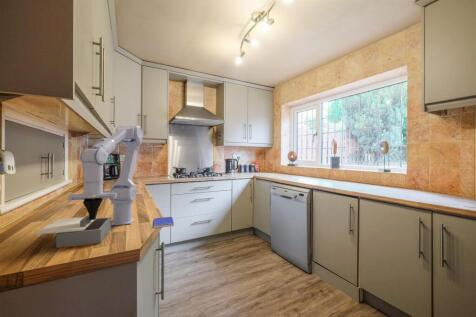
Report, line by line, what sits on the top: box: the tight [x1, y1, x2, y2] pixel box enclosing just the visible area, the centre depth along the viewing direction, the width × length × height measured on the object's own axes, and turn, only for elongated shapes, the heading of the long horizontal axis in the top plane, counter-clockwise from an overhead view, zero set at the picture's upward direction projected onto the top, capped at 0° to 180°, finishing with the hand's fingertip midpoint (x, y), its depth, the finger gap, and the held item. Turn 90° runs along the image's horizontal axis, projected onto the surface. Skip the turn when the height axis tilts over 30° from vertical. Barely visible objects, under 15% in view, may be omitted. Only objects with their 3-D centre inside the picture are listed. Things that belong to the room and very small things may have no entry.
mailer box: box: [55, 217, 112, 249], centre depth 76 cm, size 16×12×4 cm
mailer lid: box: [34, 214, 98, 235], centre depth 75 cm, size 16×12×3 cm
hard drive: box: [152, 216, 175, 229], centre depth 94 cm, size 2×8×12 cm
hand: (93, 219), depth 77 cm, fingers closed
